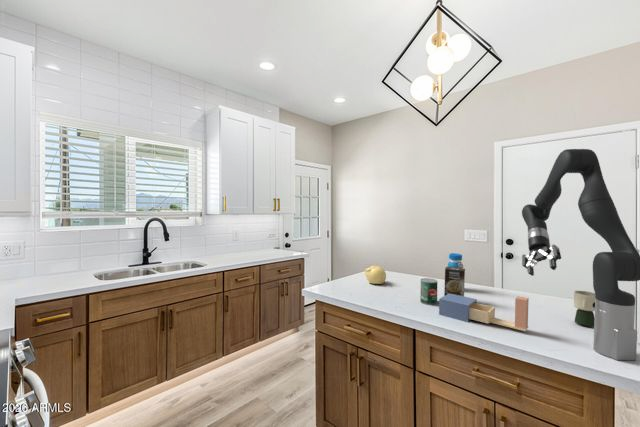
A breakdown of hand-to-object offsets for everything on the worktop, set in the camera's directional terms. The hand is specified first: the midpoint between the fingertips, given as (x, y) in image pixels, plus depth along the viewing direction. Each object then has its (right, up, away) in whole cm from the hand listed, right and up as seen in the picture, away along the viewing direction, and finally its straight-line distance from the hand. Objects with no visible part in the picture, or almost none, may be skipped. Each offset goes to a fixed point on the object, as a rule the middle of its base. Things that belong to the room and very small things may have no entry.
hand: (541, 271), depth 120 cm
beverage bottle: (-13, -20, +49) cm, 54 cm away
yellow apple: (-56, -19, +62) cm, 85 cm away
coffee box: (-22, -20, +30) cm, 43 cm away
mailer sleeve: (-29, -21, +11) cm, 37 cm away
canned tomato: (-36, -21, +27) cm, 49 cm away
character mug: (+17, -22, 0) cm, 27 cm away
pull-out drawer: (-19, -20, +1) cm, 28 cm away
